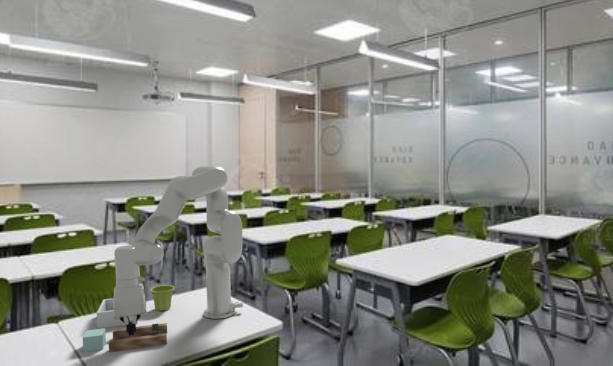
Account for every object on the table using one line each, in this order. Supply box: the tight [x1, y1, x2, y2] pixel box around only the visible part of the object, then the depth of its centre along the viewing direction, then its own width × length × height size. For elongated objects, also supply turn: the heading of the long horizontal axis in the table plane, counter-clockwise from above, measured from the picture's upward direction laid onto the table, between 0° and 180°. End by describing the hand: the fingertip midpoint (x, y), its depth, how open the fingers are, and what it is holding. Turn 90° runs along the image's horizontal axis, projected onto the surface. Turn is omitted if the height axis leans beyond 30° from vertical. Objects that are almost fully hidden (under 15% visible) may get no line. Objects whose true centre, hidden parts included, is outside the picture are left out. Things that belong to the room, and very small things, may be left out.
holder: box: [96, 297, 139, 329], centre depth 168 cm, size 14×16×6 cm
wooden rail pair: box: [108, 322, 168, 353], centre depth 147 cm, size 18×12×4 cm, turn 107°
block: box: [82, 328, 107, 353], centre depth 143 cm, size 6×6×5 cm
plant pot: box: [150, 284, 175, 312], centre depth 178 cm, size 9×9×9 cm
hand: (131, 334), depth 146 cm, fingers closed
